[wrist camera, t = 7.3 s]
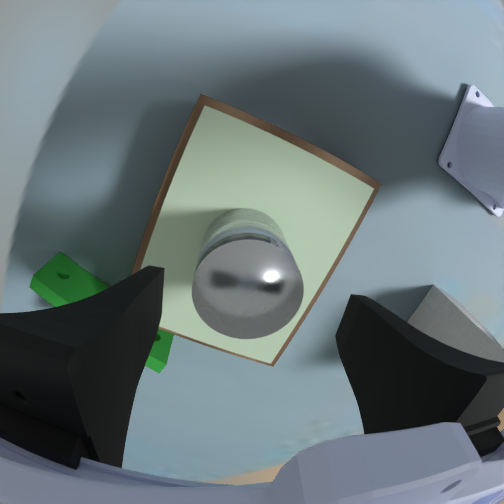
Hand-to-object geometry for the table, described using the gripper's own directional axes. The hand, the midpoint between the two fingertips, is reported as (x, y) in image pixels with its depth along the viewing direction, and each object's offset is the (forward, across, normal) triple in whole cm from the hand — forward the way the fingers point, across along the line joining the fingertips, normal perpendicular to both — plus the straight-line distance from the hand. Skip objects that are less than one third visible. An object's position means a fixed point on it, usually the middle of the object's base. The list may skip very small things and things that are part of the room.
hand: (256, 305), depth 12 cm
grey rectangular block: (+11, -18, +6) cm, 22 cm away
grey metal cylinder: (+6, 0, 0) cm, 6 cm away
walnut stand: (+10, 0, 0) cm, 10 cm away
